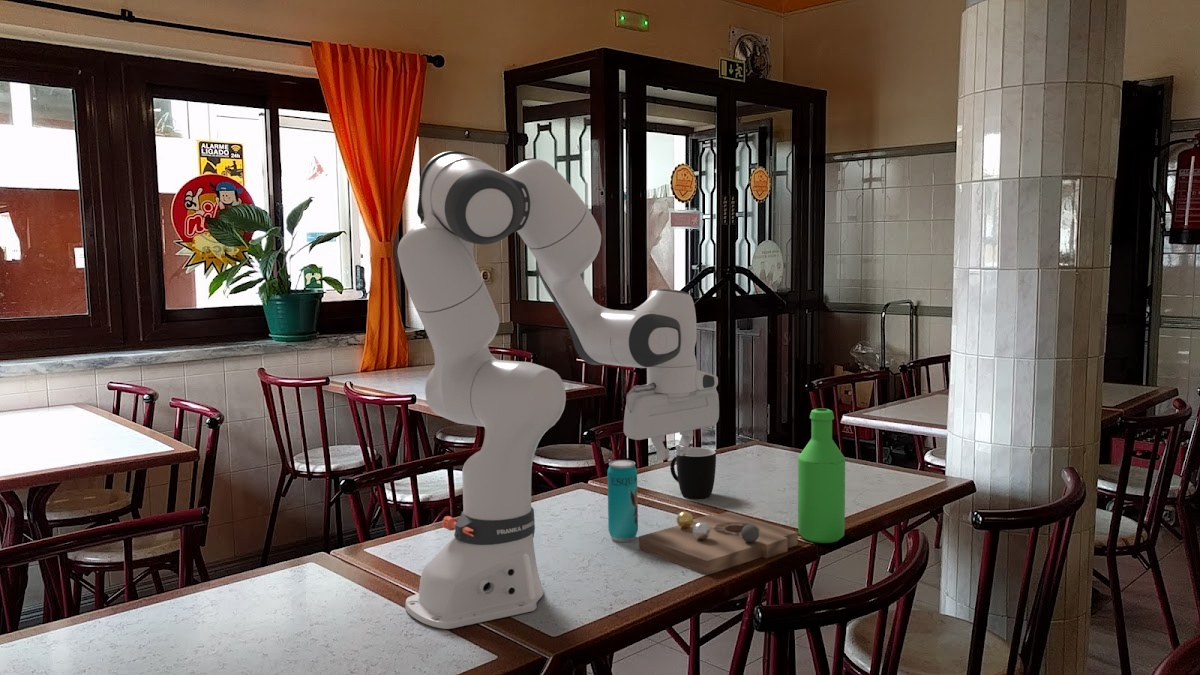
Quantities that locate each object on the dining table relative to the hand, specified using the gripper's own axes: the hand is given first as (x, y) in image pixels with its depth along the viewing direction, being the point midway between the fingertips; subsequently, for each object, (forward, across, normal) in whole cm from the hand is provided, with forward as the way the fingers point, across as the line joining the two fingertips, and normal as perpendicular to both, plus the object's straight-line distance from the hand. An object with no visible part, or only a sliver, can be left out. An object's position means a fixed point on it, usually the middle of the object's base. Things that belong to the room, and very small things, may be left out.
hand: (672, 457), depth 164 cm
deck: (+19, +12, 0) cm, 22 cm away
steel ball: (+15, +7, 0) cm, 17 cm away
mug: (+19, +34, +30) cm, 49 cm away
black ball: (+15, +12, -7) cm, 21 cm away
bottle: (+19, +31, -9) cm, 37 cm away
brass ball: (+15, +10, +7) cm, 19 cm away
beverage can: (+19, +2, +16) cm, 25 cm away
